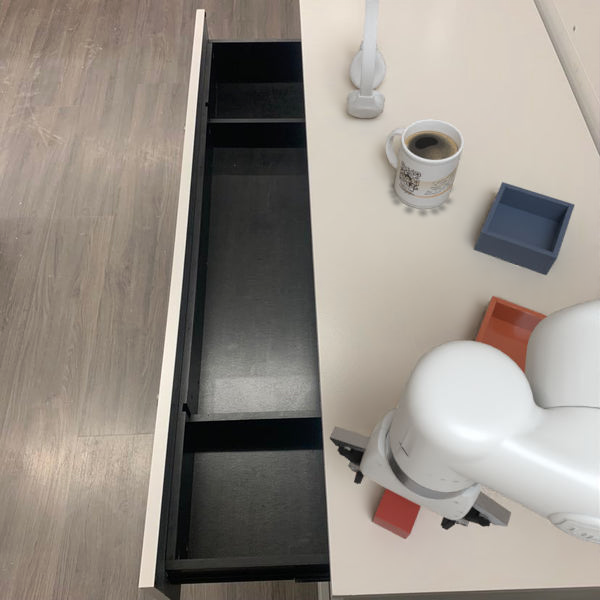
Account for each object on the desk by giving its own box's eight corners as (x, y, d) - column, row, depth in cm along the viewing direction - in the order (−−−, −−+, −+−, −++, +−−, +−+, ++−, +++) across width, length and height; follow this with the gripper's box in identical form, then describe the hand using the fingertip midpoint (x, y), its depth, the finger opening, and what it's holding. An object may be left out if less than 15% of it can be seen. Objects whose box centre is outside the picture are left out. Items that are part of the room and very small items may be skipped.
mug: (397, 213, 91) (406, 166, 81) (381, 164, 97) (387, 114, 87) (457, 204, 91) (472, 156, 82) (437, 155, 97) (449, 105, 88)
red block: (418, 505, 66) (423, 498, 62) (405, 539, 64) (410, 534, 60) (385, 488, 67) (389, 480, 64) (371, 521, 65) (374, 515, 62)
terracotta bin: (563, 341, 77) (575, 326, 73) (542, 410, 72) (555, 398, 68) (484, 311, 80) (492, 295, 76) (459, 375, 75) (467, 361, 71)
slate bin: (563, 223, 88) (574, 204, 84) (546, 275, 83) (557, 258, 79) (494, 200, 91) (502, 181, 87) (473, 249, 86) (480, 232, 82)
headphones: (384, 73, 110) (394, -27, 93) (382, 134, 101) (393, 35, 84) (350, 72, 111) (354, -28, 94) (344, 133, 101) (347, 34, 84)
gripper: (559, 454, 41) (495, 497, 55) (353, 361, 45) (344, 424, 60) (534, 550, 37) (472, 569, 52) (314, 439, 42) (315, 486, 56)
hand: (404, 491), depth 56 cm, fingers open, 9 cm apart
